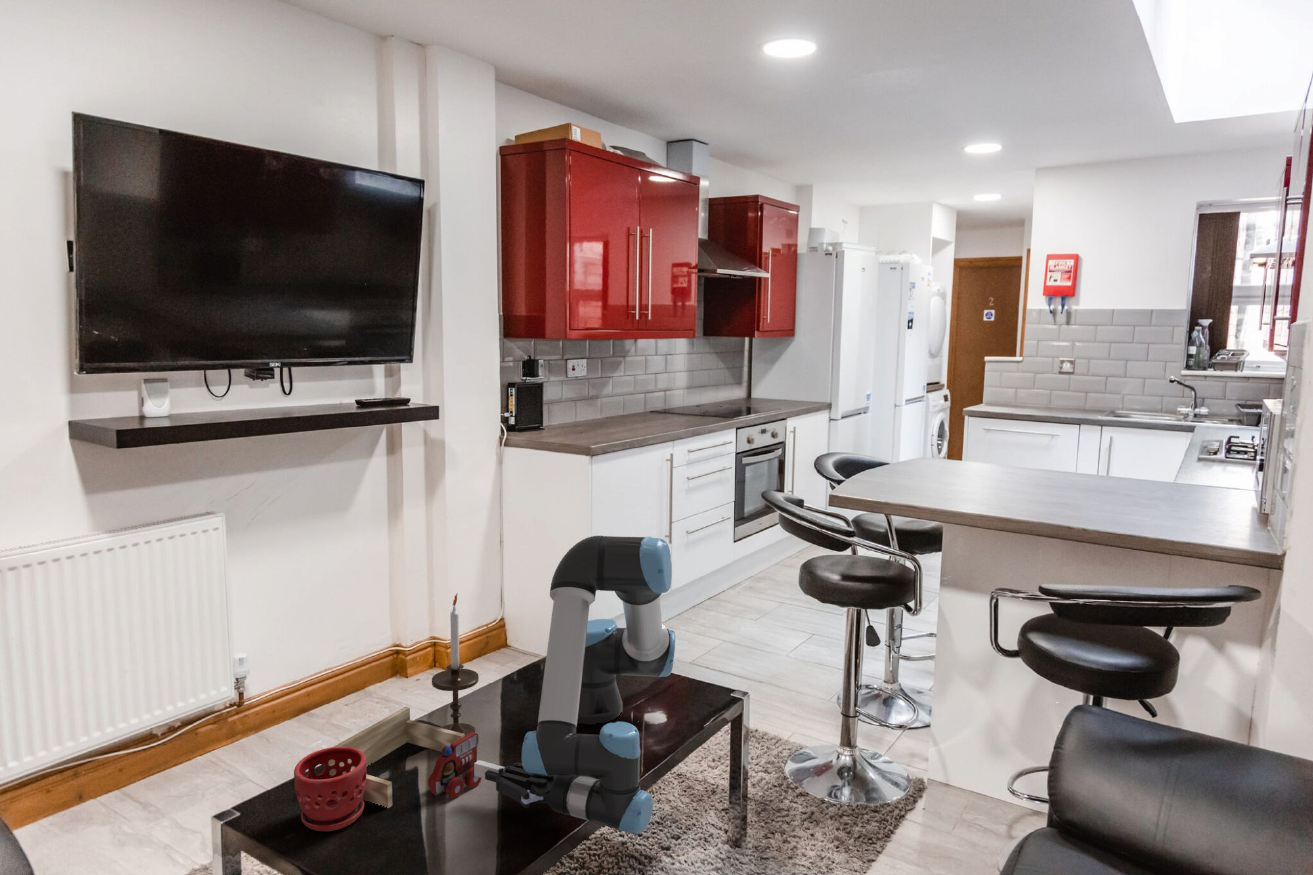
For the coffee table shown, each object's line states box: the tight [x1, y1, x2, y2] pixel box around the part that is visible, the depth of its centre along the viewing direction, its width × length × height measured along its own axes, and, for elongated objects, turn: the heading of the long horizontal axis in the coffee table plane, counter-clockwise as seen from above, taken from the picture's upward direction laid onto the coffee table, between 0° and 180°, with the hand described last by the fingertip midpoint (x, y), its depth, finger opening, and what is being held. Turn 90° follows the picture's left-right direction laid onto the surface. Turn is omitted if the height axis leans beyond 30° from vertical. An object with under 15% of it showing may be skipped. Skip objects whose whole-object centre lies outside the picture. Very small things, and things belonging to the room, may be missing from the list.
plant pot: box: [293, 746, 368, 832], centre depth 161 cm, size 13×13×12 cm
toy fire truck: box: [427, 732, 483, 800], centre depth 173 cm, size 7×12×10 cm, turn 146°
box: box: [328, 706, 465, 809], centre depth 180 cm, size 17×24×8 cm
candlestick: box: [431, 593, 479, 736], centre depth 195 cm, size 11×11×35 cm
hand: (476, 767), depth 169 cm, fingers closed
